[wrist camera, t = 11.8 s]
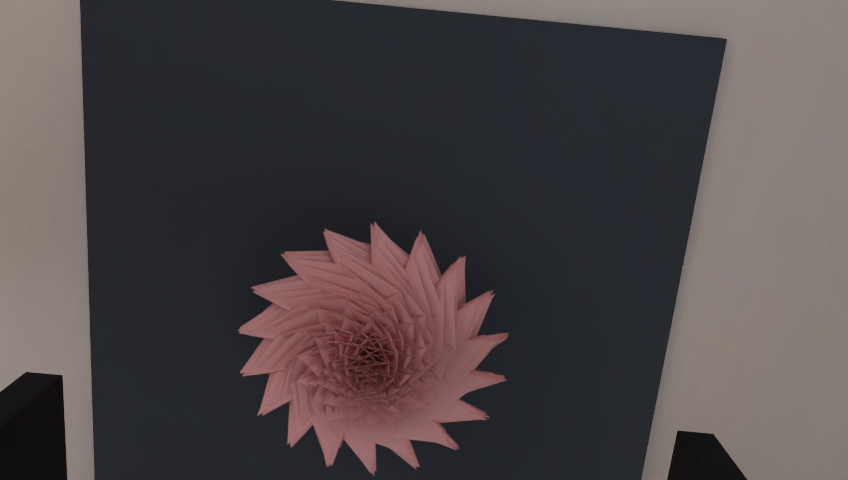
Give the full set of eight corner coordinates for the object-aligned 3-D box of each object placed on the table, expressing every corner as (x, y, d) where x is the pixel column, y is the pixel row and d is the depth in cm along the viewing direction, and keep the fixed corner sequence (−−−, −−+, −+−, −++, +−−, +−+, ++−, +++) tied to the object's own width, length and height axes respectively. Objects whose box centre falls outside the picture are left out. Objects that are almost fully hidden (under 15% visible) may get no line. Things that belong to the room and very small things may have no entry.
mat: (723, 39, 22) (727, 38, 21) (619, 574, 27) (621, 580, 26) (83, -24, 21) (79, -25, 21) (99, 533, 26) (96, 538, 26)
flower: (533, 246, 23) (566, 303, 18) (445, 445, 25) (451, 552, 20) (308, 161, 22) (271, 194, 17) (236, 373, 24) (182, 462, 19)
